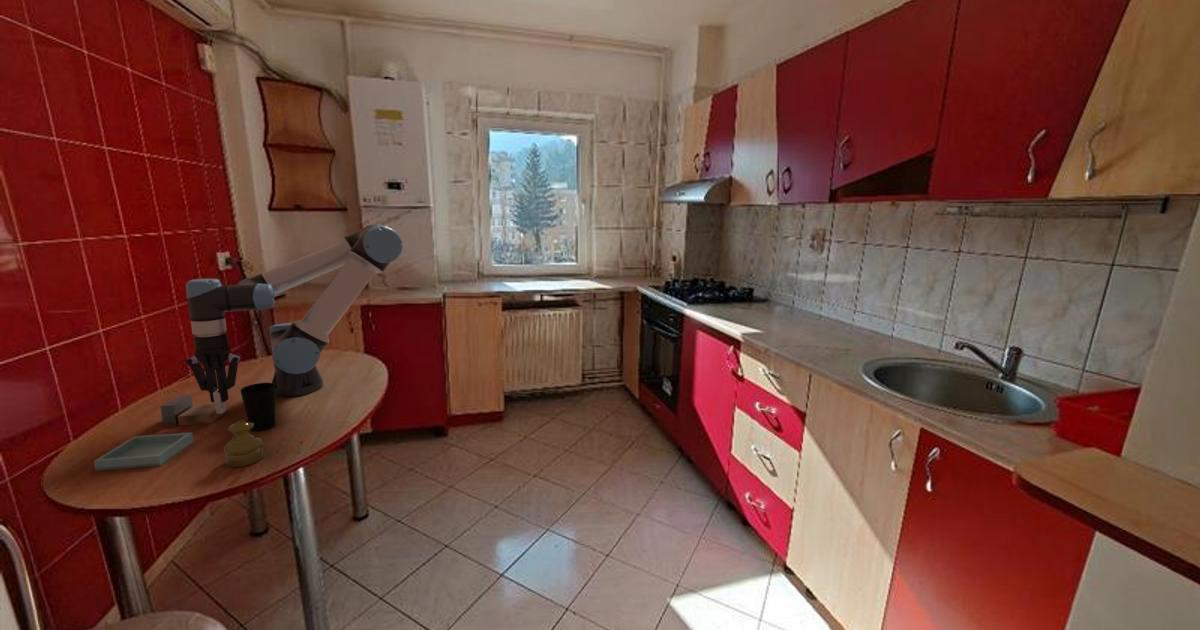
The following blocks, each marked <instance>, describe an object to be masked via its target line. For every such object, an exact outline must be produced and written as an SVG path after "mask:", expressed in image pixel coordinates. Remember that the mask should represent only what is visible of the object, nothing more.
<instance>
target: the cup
mask: <svg viewBox="0 0 1200 630" xmlns="http://www.w3.org/2000/svg"><path fill="white" fill-rule="evenodd" d="M240 393H241V399H242V402H243V405H244V409H245V413H246V417H247V421H250V422H253V423H254V426H253V427H252V428H251V429H250V431H251V432H254V433H258V432H260V433H261V432H265V431H269V430H271V429H273V428H275V426H276V396H275V385H274V384H273V383H271V382H260V383H252V384H248V385H247V386H243V387H242V388H241V389H240Z"/></svg>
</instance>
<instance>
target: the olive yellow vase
mask: <svg viewBox="0 0 1200 630" xmlns="http://www.w3.org/2000/svg"><path fill="white" fill-rule="evenodd" d="M253 426H254V423H253V422H250V421H248V420H243V419H242V420H237V421H236V422H234V423H232V424H231V425H229V426H228V427H227V431H228V432H229V433H233V434H234V436H233V438H232V439H231V440H230V441H229V442H227V443H226V444H225V446H224V447H223V451H224V453H225V456H224V458H225V463H226V466H228V467H231V468H241V467H246V466H249V465H253V464H256V463H257V462H259V461H260V460H262V459H263V458H264V456H265V454H264V446H262V445H263V439H262V438H261V437H260V436H256V435H254V434H251V433H250V431H251V428H252V427H253Z"/></svg>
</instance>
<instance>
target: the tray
mask: <svg viewBox="0 0 1200 630" xmlns="http://www.w3.org/2000/svg"><path fill="white" fill-rule="evenodd" d="M193 442H194V436H193V432H181V433H180V432H179V433H167V434H166V433H164V434H152V435H137V436H135V435H134V436H133V437H131V438H129V439H128V440H126V441H124V442H123V443H121V444H119V445H118V446H116V447H115V448H113V449H111V450H110V451H108V452H107V453H105V454H103V455H101V456H99V457H98V458H96V459H95V460H93V466H94V468H95V472H101V471H113V470H125V469H135V468H137V469H138V468H150V467H151V468H152V467H161V466H162V465H164V464H165V463H166V462H167V461H169V460H171V459H172V458H173V457H174V456H176V455H178V453H180V452H181V451H183V450H184V449H186V448H187V447H188V446H189V445H191V444H192V443H193Z"/></svg>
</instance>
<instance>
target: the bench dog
mask: <svg viewBox="0 0 1200 630" xmlns="http://www.w3.org/2000/svg"><path fill="white" fill-rule="evenodd" d="M193 406H194V405H193V399H192V394H183V395H178V396H176V397H174V398H172V399H169V401H167V402H165V403H164V404H162V405H160V413H161V418H162V419H161V420H162V422H163V427H171V426H174V427H175V426H179V422H178V416H179V415H181V414H182V413H184V412H185V411H187V410H189V409H190V408H192V407H193Z"/></svg>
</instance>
